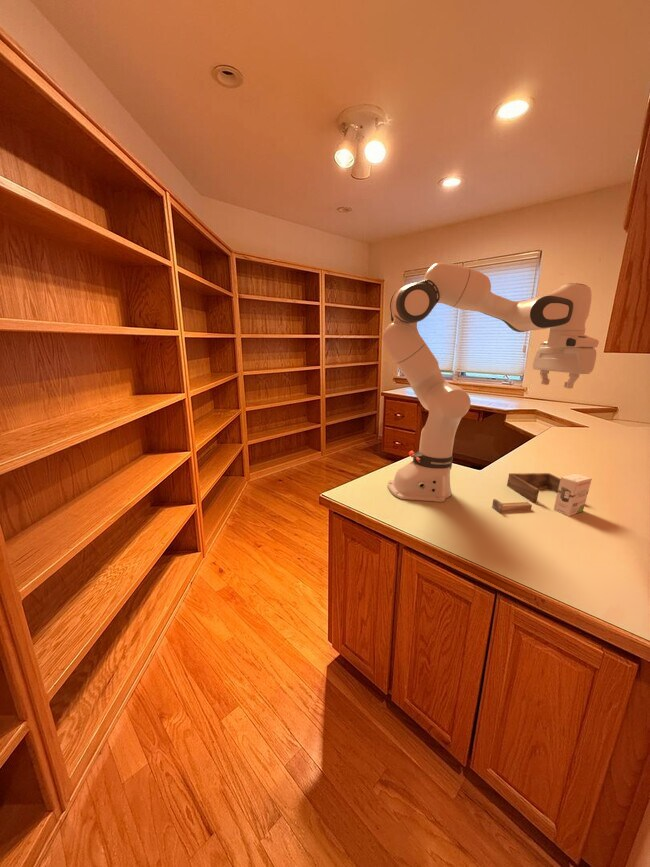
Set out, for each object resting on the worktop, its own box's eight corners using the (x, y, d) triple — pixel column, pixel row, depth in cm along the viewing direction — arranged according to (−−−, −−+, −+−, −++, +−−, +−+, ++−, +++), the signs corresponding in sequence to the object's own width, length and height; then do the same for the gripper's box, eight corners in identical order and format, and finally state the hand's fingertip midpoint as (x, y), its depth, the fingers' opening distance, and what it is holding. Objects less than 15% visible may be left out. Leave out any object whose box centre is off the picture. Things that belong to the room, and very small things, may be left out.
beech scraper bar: (532, 511, 105) (534, 502, 104) (499, 513, 103) (500, 504, 102) (524, 506, 109) (526, 497, 108) (491, 508, 107) (493, 499, 106)
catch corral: (533, 502, 111) (536, 489, 110) (506, 485, 125) (509, 473, 123) (577, 502, 113) (580, 488, 111) (546, 485, 126) (549, 473, 125)
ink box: (567, 504, 110) (575, 472, 107) (583, 511, 106) (592, 478, 103) (552, 509, 107) (560, 476, 104) (569, 516, 102) (577, 482, 99)
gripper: (531, 341, 110) (524, 382, 113) (584, 340, 90) (573, 390, 94) (548, 341, 110) (540, 382, 114) (604, 341, 91) (593, 390, 94)
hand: (556, 386), depth 104 cm, fingers open, 8 cm apart
